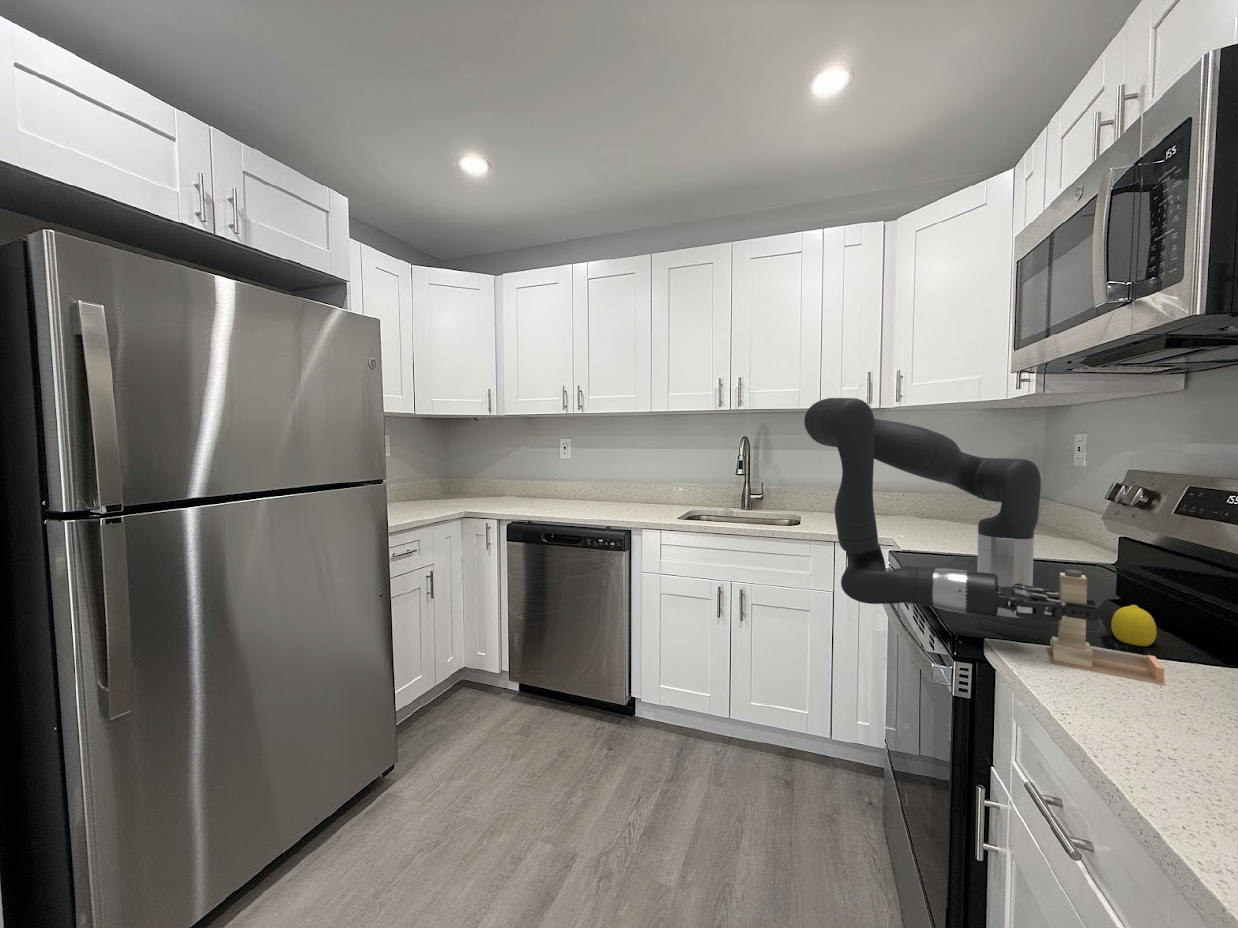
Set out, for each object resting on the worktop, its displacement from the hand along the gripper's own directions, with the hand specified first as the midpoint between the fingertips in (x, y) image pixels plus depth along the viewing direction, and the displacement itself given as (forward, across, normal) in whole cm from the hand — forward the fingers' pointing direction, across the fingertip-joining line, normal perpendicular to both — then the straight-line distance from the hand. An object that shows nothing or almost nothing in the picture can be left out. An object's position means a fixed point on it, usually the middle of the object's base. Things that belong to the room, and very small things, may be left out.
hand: (1096, 610), depth 79 cm
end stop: (+7, 0, +8) cm, 11 cm away
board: (+1, 0, +10) cm, 10 cm away
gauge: (-3, 0, +8) cm, 9 cm away
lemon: (+7, +16, +10) cm, 20 cm away
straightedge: (+1, +3, +8) cm, 9 cm away
